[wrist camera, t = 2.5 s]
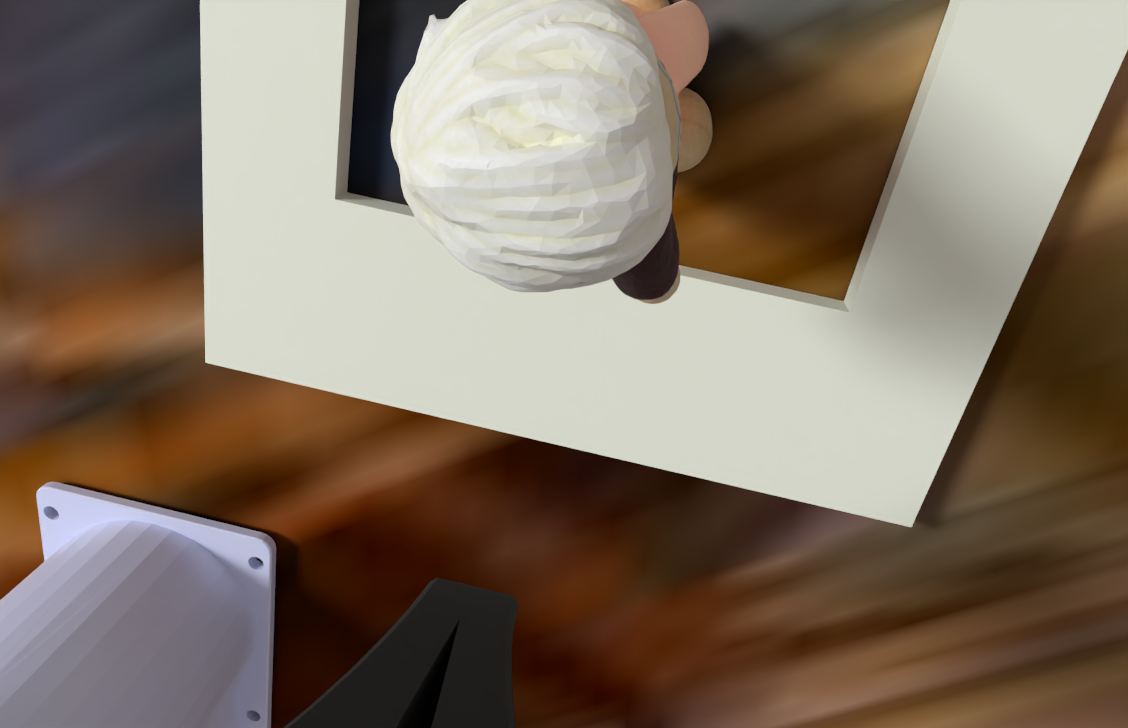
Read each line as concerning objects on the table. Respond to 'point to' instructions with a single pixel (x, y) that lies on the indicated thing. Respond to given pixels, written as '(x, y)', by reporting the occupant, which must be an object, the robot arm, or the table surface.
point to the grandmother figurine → (555, 139)
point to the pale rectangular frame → (703, 299)
